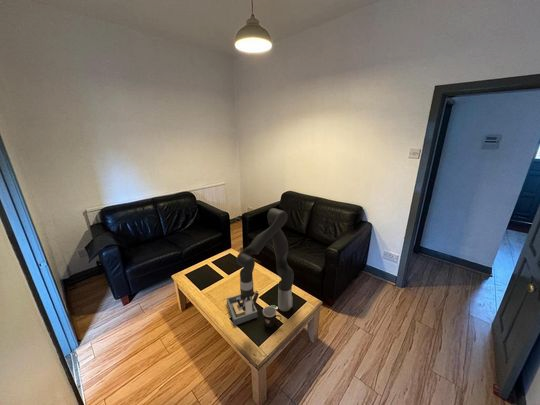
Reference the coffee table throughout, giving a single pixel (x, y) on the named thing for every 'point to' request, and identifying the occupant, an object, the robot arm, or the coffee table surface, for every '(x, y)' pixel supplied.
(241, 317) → the walled box
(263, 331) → the coffee table surface
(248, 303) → the peg
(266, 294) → the coffee table surface
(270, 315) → the coffee mug
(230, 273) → the coffee table surface
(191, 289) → the coffee table surface
